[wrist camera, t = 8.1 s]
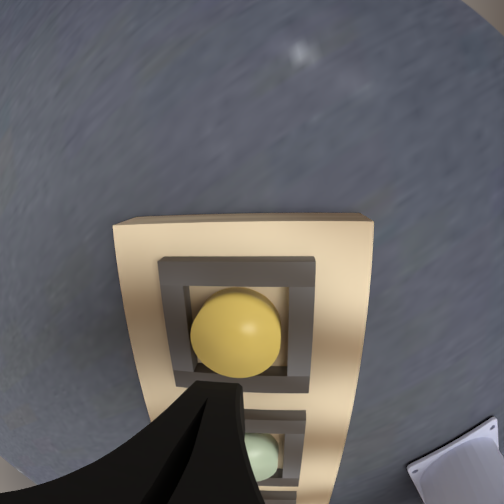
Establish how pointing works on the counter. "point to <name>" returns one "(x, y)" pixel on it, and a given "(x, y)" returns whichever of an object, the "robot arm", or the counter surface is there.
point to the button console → (291, 314)
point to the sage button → (262, 454)
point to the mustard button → (237, 333)
